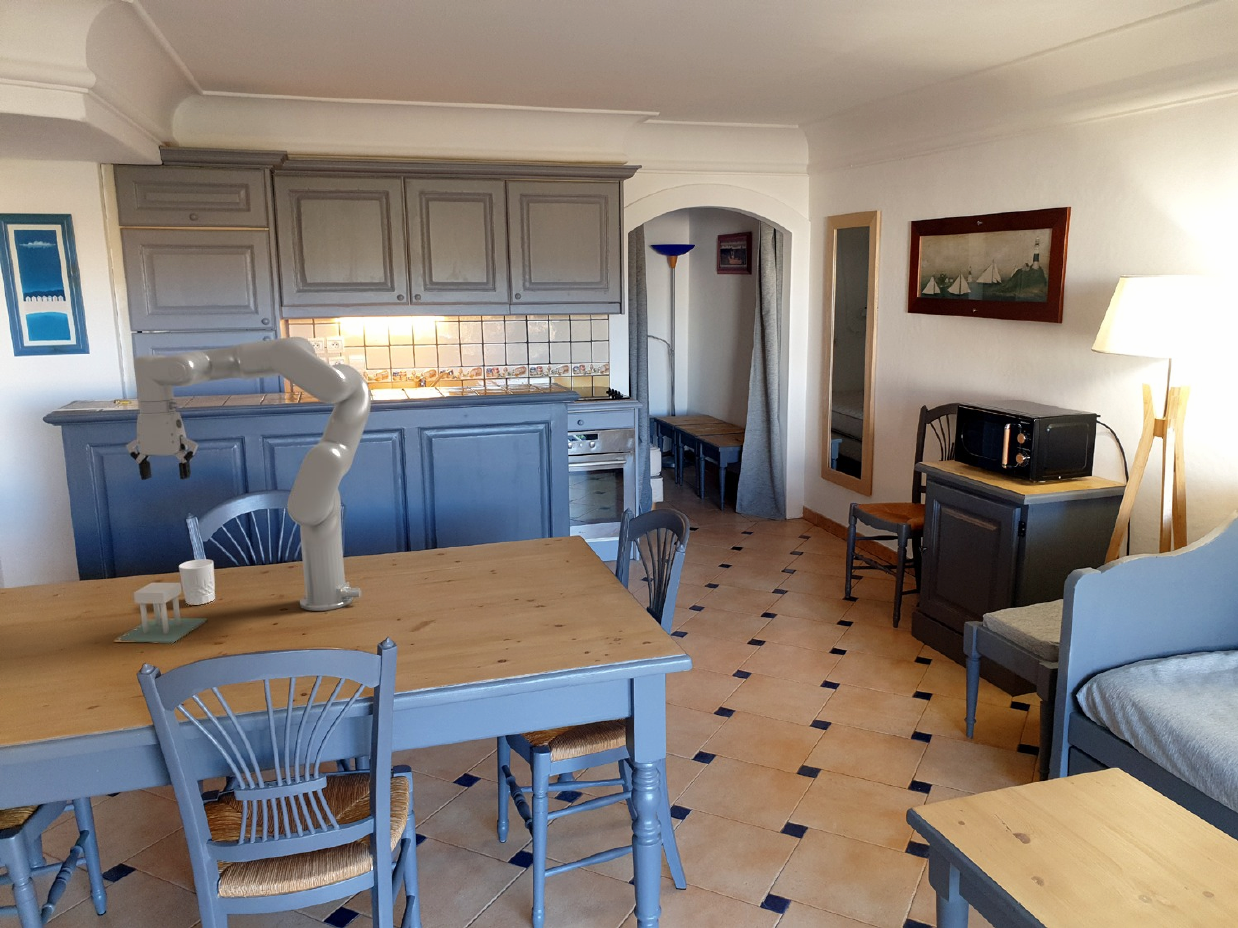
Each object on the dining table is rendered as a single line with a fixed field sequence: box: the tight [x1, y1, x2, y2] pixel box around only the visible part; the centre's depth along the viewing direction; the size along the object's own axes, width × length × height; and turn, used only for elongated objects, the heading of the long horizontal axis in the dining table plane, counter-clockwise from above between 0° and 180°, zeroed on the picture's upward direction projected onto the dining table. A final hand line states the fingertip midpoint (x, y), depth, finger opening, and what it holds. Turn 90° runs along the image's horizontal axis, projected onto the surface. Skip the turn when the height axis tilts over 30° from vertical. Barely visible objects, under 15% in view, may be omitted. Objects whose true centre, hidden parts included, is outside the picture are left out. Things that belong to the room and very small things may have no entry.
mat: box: [116, 617, 208, 644], centre depth 207 cm, size 14×14×1 cm
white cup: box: [178, 558, 216, 605], centre depth 226 cm, size 8×8×10 cm
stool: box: [133, 582, 183, 634], centre depth 207 cm, size 7×7×10 cm
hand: (166, 478), depth 216 cm, fingers open, 9 cm apart
